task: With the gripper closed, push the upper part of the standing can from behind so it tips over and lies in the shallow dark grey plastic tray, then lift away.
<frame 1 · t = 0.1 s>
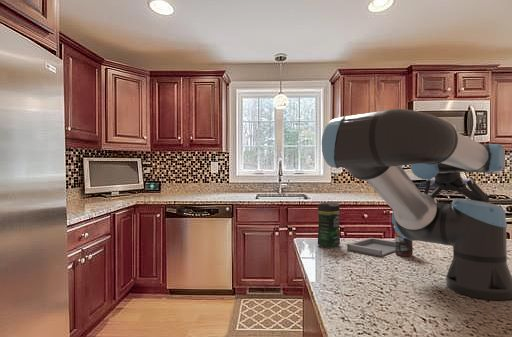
hand: (458, 216, 114), 15 cm above the countertop, tool tilted 35°, fingers open, 13 cm apart
coffee jar: (329, 246, 136), on the countertop
supplement bottle: (403, 255, 120), on the countertop
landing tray: (375, 249, 128), on the countertop
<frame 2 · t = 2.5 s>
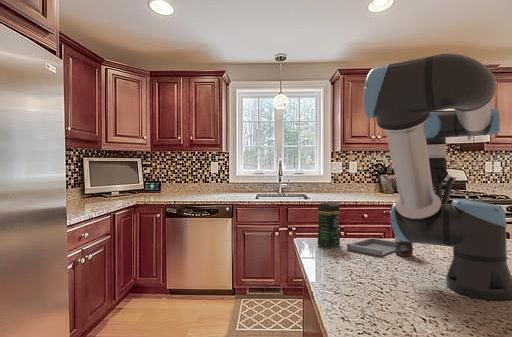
hand: (435, 224, 112), 13 cm above the countertop, tool pointing down, fingers closed
nothing on the countertop moved.
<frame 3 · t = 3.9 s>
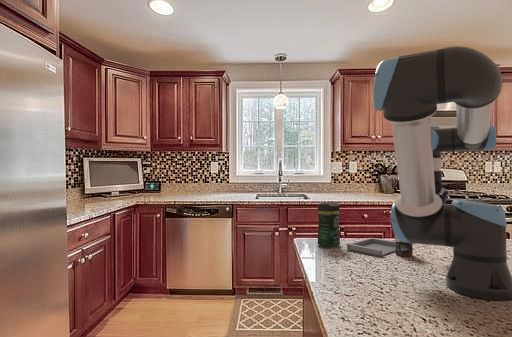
hand: (430, 237, 113), 8 cm above the countertop, tool pointing down, fingers closed
nothing on the countertop moved.
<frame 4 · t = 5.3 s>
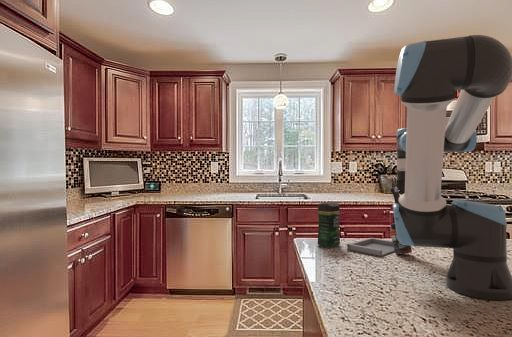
hand: (409, 233, 119), 8 cm above the countertop, tool pointing down, fingers closed
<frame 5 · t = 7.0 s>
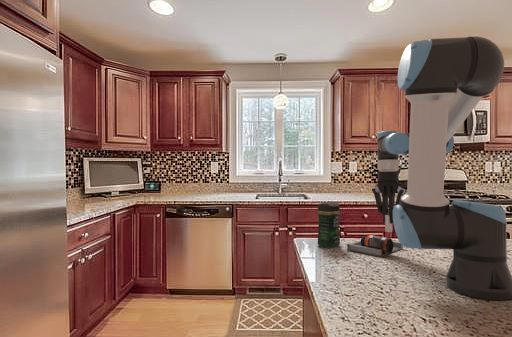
hand: (388, 231, 124), 8 cm above the countertop, tool pointing down, fingers closed
supplement bottle: (390, 246, 119), point 4 cm above the countertop, touching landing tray
everything else where it was.
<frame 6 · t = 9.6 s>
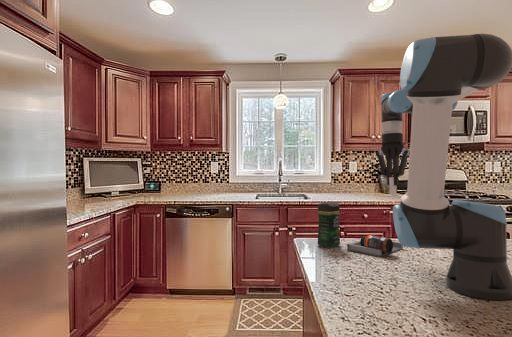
hand: (393, 194, 124), 23 cm above the countertop, tool pointing down, fingers closed
nothing on the countertop moved.
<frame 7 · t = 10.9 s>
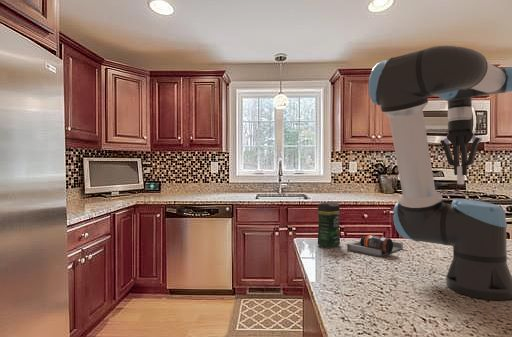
hand: (460, 184, 118), 26 cm above the countertop, tool pointing down, fingers closed
nothing on the countertop moved.
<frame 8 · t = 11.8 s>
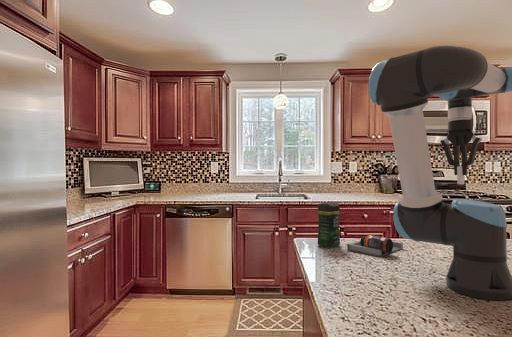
hand: (460, 184, 118), 26 cm above the countertop, tool pointing down, fingers closed
nothing on the countertop moved.
at the end: supplement bottle tilted 90°; supplement bottle touching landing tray; supplement bottle inside the target area (5.2 cm from its centre), point 3.6 cm above the countertop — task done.
